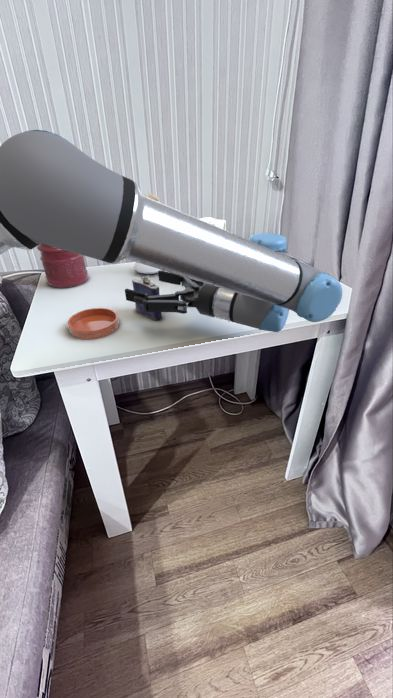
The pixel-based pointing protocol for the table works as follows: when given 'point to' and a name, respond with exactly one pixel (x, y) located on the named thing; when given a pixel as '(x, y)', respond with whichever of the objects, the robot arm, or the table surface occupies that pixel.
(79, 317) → the terracotta plant saucer
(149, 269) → the flower in vase
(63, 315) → the table surface
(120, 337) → the table surface
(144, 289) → the flask
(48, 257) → the kitchen canister
